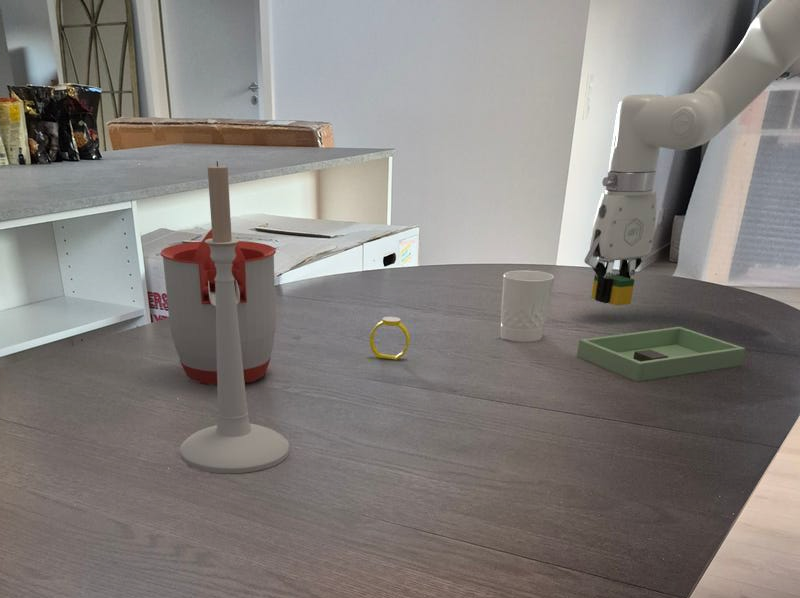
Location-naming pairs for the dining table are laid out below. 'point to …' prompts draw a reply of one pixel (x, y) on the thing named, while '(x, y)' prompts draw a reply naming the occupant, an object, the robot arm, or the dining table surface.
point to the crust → (648, 355)
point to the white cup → (525, 304)
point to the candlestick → (229, 365)
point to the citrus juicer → (197, 306)
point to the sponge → (618, 290)
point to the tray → (677, 343)
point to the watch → (390, 322)
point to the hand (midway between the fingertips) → (610, 299)
